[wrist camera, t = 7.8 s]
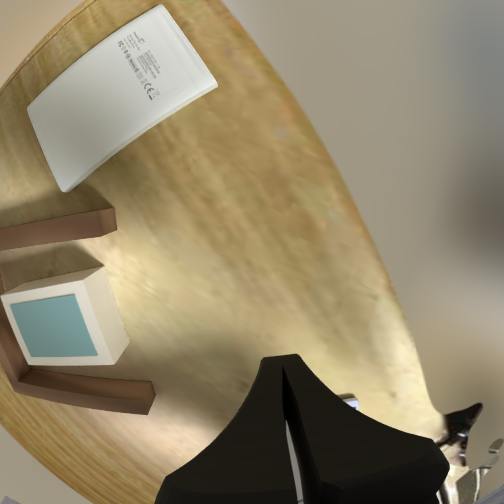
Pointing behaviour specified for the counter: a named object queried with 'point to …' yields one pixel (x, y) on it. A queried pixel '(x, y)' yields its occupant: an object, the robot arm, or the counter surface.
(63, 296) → the card box
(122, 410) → the frame
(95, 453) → the counter surface
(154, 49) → the external hard drive
